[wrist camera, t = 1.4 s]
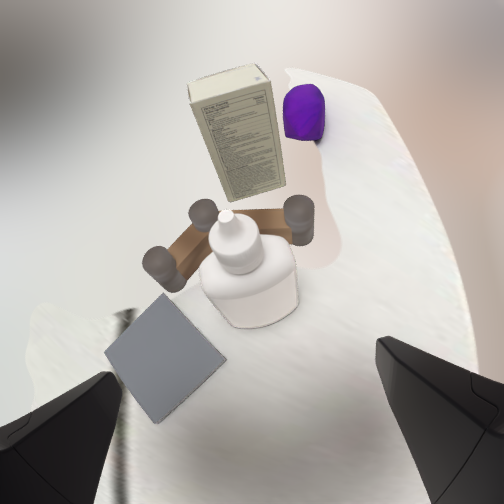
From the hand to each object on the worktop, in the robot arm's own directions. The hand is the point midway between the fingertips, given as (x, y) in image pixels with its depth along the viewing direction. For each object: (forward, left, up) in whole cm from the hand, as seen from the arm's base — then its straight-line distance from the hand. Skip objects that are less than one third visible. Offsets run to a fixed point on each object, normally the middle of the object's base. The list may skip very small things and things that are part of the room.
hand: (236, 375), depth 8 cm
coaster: (-5, +8, -13) cm, 16 cm away
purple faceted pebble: (+26, +17, -13) cm, 34 cm away
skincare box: (+13, +15, -13) cm, 24 cm away
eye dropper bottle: (+4, +5, -13) cm, 14 cm away
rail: (+6, +10, -13) cm, 17 cm away
